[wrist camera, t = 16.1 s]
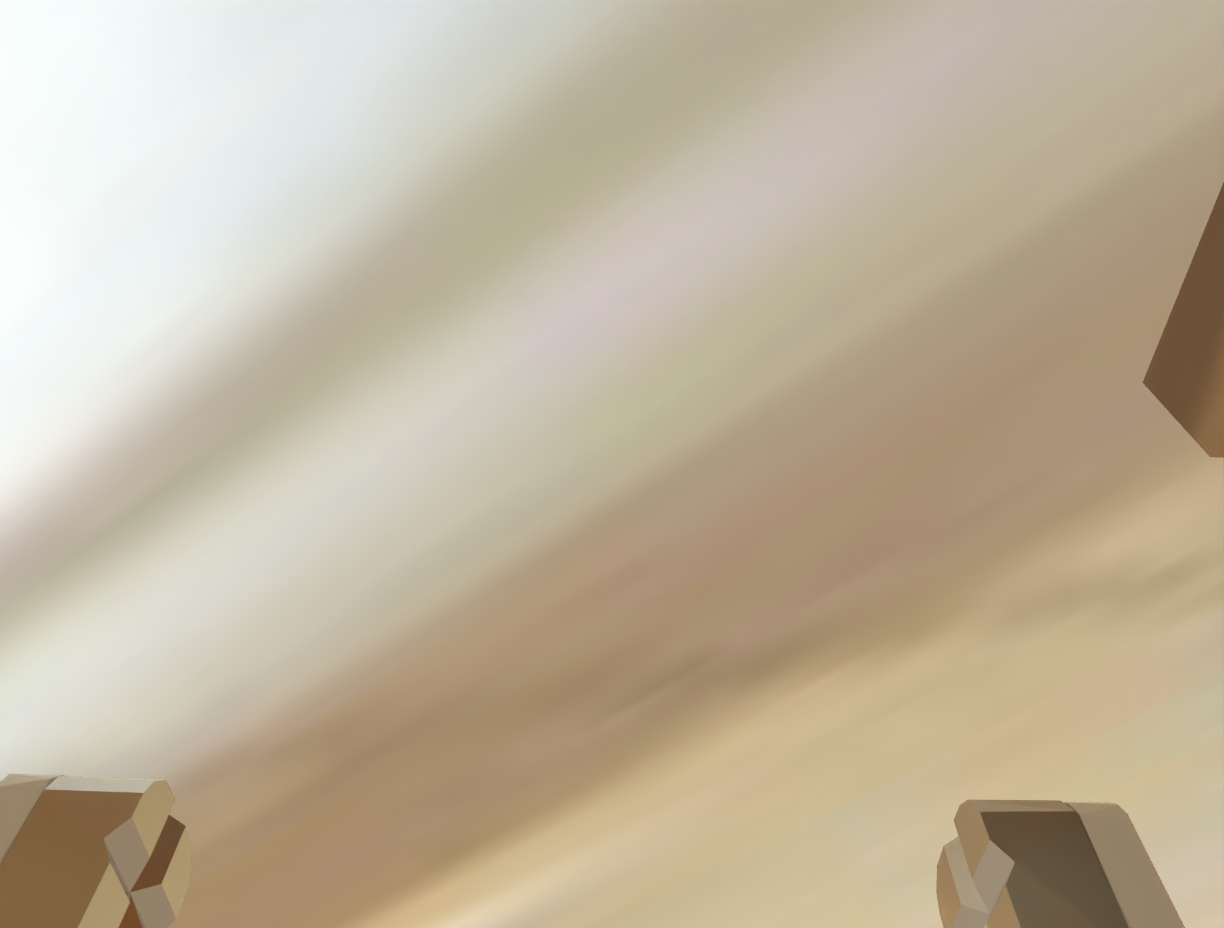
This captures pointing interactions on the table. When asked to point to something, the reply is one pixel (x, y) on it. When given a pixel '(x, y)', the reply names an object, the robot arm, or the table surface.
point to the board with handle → (1196, 344)
